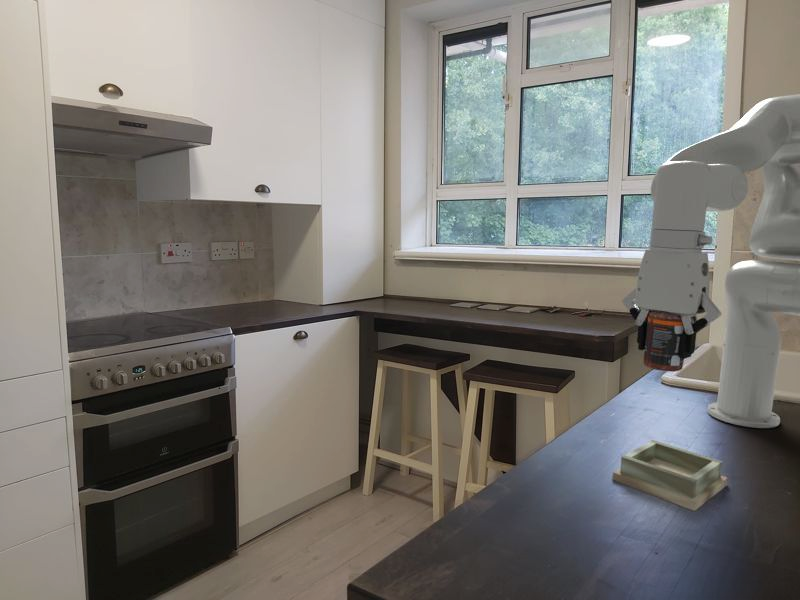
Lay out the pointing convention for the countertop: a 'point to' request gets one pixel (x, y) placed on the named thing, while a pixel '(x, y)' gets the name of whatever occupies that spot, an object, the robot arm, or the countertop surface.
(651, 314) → the supplement bottle
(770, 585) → the countertop surface
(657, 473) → the socket board
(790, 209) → the robot arm
